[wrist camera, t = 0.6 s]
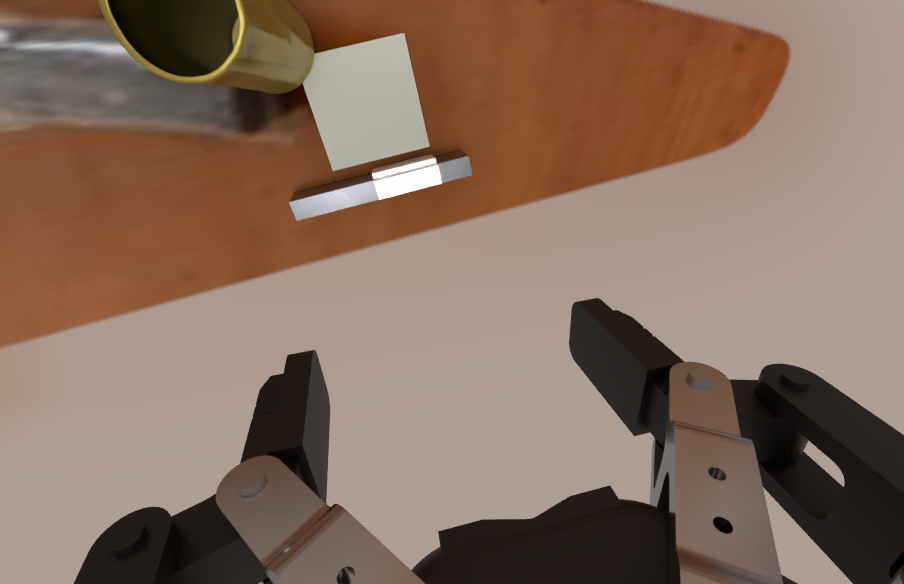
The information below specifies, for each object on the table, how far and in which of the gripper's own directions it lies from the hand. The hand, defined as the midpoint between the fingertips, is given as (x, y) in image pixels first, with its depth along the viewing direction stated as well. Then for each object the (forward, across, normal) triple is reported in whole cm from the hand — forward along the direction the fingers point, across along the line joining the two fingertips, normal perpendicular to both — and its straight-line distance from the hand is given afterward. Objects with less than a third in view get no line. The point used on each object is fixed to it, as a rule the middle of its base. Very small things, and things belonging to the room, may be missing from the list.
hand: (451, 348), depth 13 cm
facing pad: (+25, +1, -5) cm, 26 cm away
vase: (+25, +7, -10) cm, 28 cm away
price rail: (+25, 0, 0) cm, 25 cm away
